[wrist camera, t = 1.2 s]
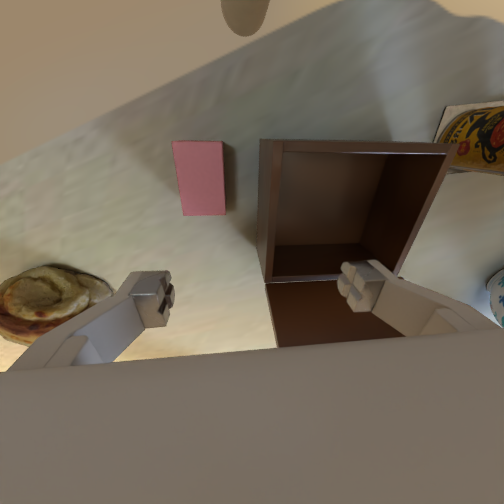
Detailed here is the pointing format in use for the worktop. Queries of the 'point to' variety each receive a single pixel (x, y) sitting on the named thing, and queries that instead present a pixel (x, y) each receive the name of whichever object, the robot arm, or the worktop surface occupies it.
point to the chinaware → (497, 296)
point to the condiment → (475, 137)
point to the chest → (342, 203)
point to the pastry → (45, 301)
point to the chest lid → (319, 315)
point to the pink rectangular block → (200, 177)
